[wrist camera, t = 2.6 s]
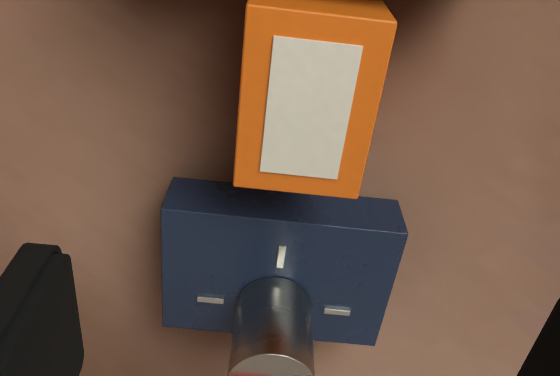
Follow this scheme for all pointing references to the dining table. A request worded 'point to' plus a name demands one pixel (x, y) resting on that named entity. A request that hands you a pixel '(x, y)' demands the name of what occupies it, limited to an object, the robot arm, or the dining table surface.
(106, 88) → the dining table surface
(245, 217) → the panel
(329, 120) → the package
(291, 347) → the tap knob
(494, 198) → the dining table surface
